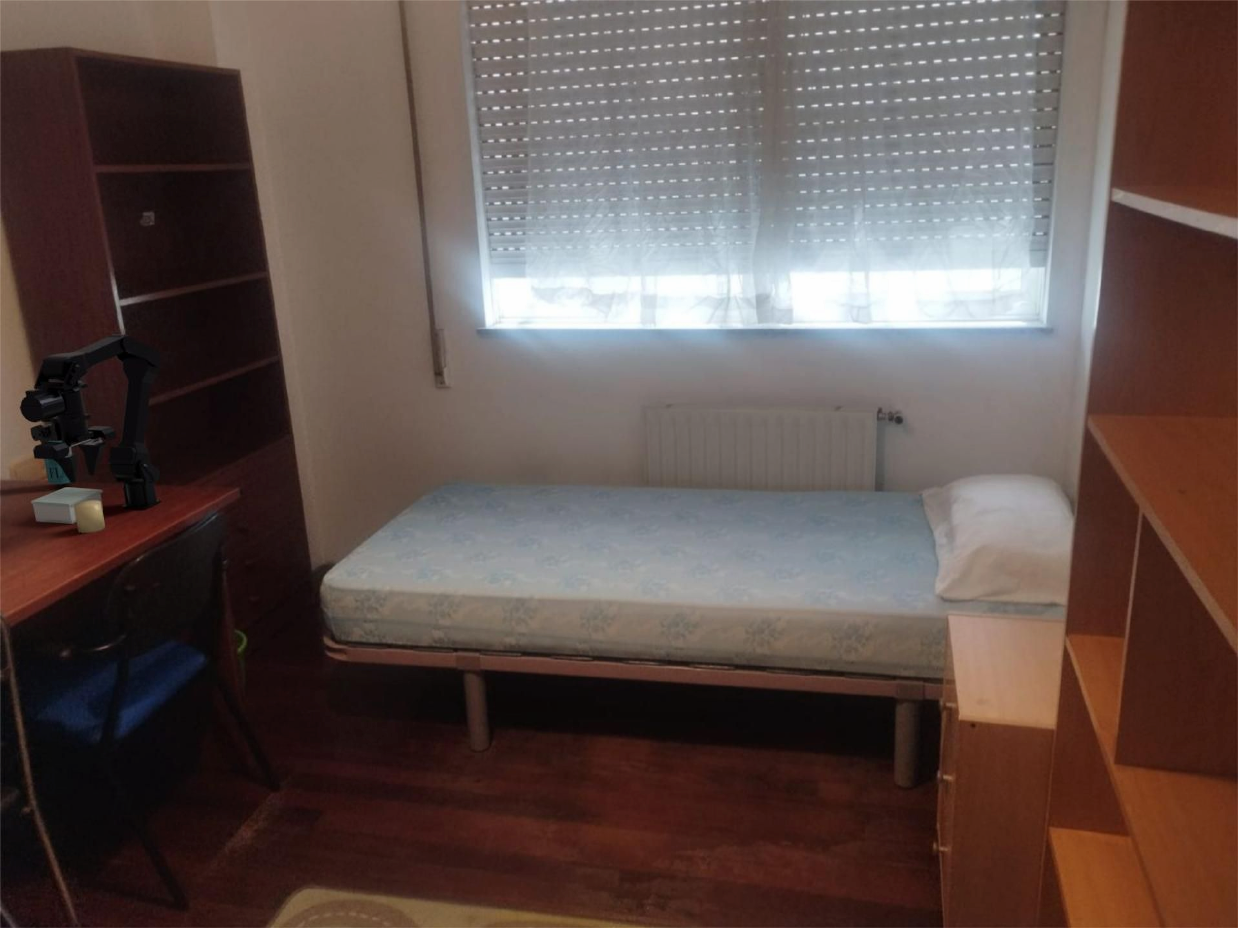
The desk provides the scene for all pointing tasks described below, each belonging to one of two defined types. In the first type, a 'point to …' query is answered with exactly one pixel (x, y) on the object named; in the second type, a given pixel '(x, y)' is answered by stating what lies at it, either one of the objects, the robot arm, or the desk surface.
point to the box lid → (67, 496)
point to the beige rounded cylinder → (89, 516)
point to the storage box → (59, 512)
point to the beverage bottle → (54, 467)
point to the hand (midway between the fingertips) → (82, 478)
